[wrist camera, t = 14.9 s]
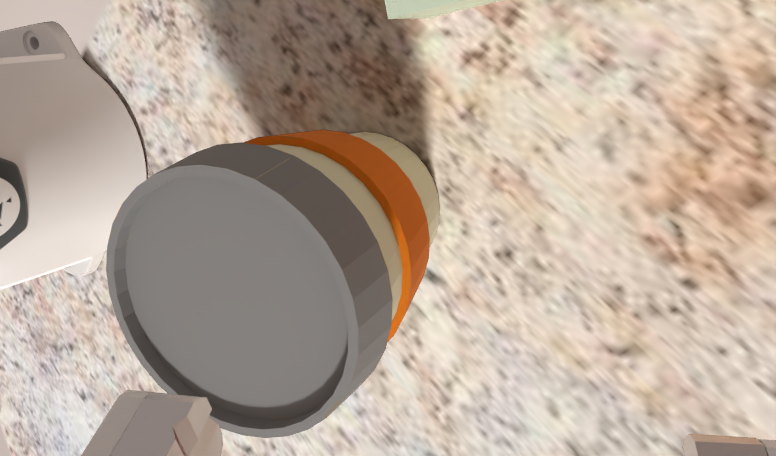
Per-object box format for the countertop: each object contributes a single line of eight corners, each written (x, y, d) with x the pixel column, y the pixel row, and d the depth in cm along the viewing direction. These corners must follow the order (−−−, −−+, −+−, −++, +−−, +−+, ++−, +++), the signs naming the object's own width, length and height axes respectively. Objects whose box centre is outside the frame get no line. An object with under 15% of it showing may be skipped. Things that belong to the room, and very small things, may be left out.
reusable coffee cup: (310, 305, 43) (157, 440, 30) (257, 123, 40) (61, 183, 27) (489, 290, 37) (400, 447, 24) (444, 79, 34) (314, 129, 21)
